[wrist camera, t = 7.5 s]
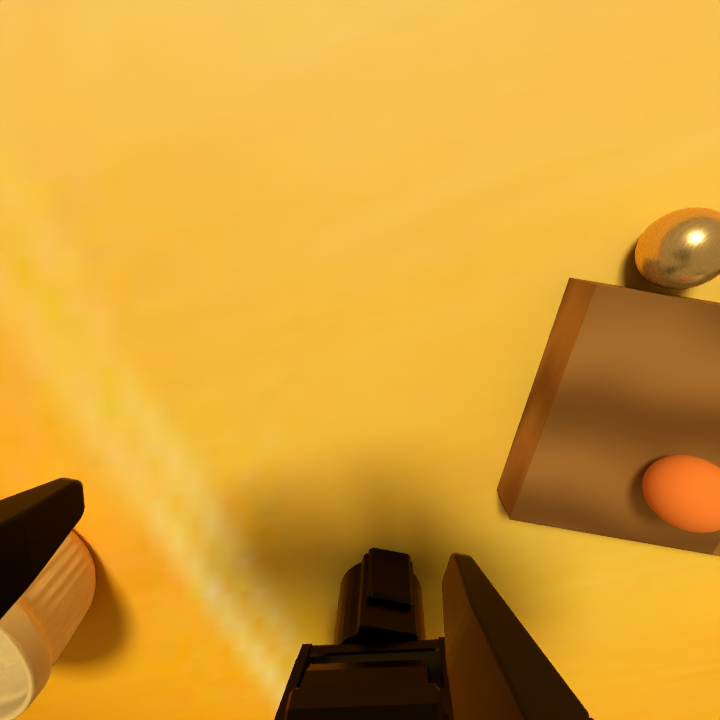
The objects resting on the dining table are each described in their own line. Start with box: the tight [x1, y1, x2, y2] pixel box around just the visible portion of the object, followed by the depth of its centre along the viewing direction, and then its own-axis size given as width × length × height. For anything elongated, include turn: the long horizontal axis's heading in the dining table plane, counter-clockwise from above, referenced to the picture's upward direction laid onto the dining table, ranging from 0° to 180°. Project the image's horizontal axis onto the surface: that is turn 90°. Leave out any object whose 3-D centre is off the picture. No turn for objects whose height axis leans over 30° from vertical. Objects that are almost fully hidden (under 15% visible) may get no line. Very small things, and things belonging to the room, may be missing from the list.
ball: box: [642, 455, 720, 533], centre depth 17 cm, size 3×3×3 cm
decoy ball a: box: [635, 208, 720, 289], centre depth 16 cm, size 3×3×3 cm
